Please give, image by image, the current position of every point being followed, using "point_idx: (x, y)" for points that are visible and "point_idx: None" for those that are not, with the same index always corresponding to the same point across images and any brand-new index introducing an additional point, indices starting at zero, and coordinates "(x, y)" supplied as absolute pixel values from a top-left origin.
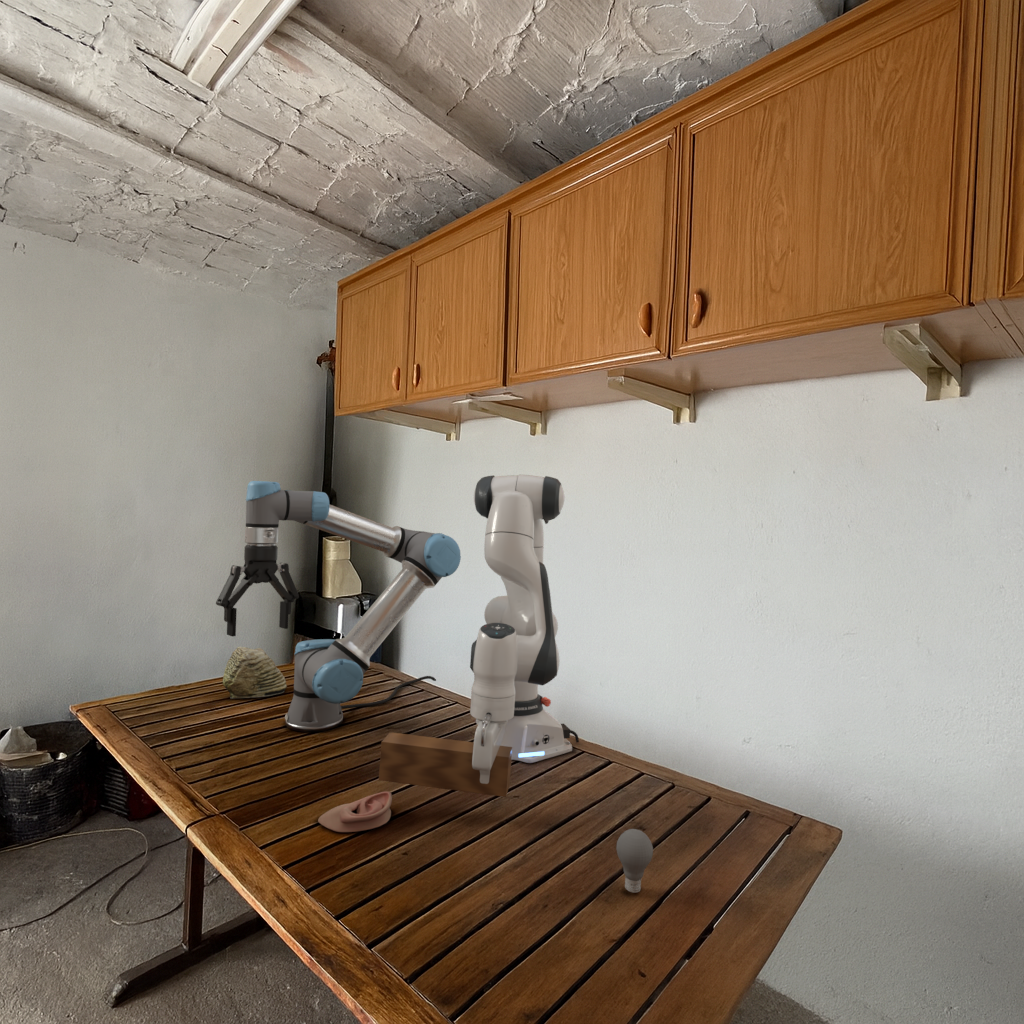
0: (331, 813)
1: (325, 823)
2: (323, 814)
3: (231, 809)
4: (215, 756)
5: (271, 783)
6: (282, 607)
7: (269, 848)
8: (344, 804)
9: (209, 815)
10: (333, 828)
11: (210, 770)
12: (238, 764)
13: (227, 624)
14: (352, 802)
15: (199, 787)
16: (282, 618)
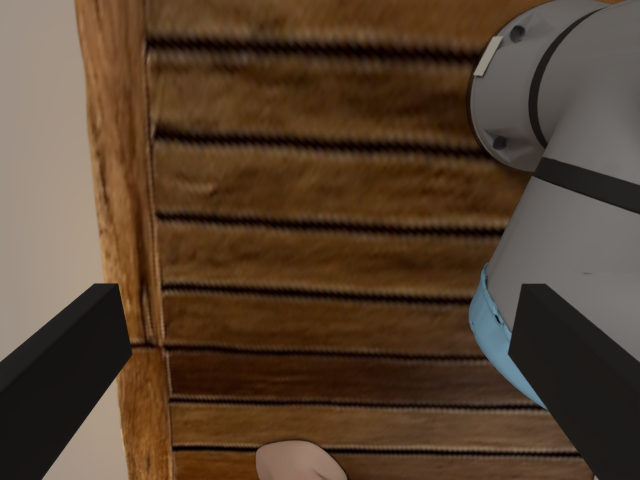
0: (269, 467)
1: (257, 465)
2: (267, 452)
3: (181, 347)
4: (247, 124)
5: (271, 314)
6: (636, 447)
7: (180, 455)
8: (302, 454)
9: (148, 342)
10: (259, 477)
11: (209, 188)
12: (265, 200)
13: (45, 331)
14: (302, 475)
15: (166, 245)
16: (556, 367)
